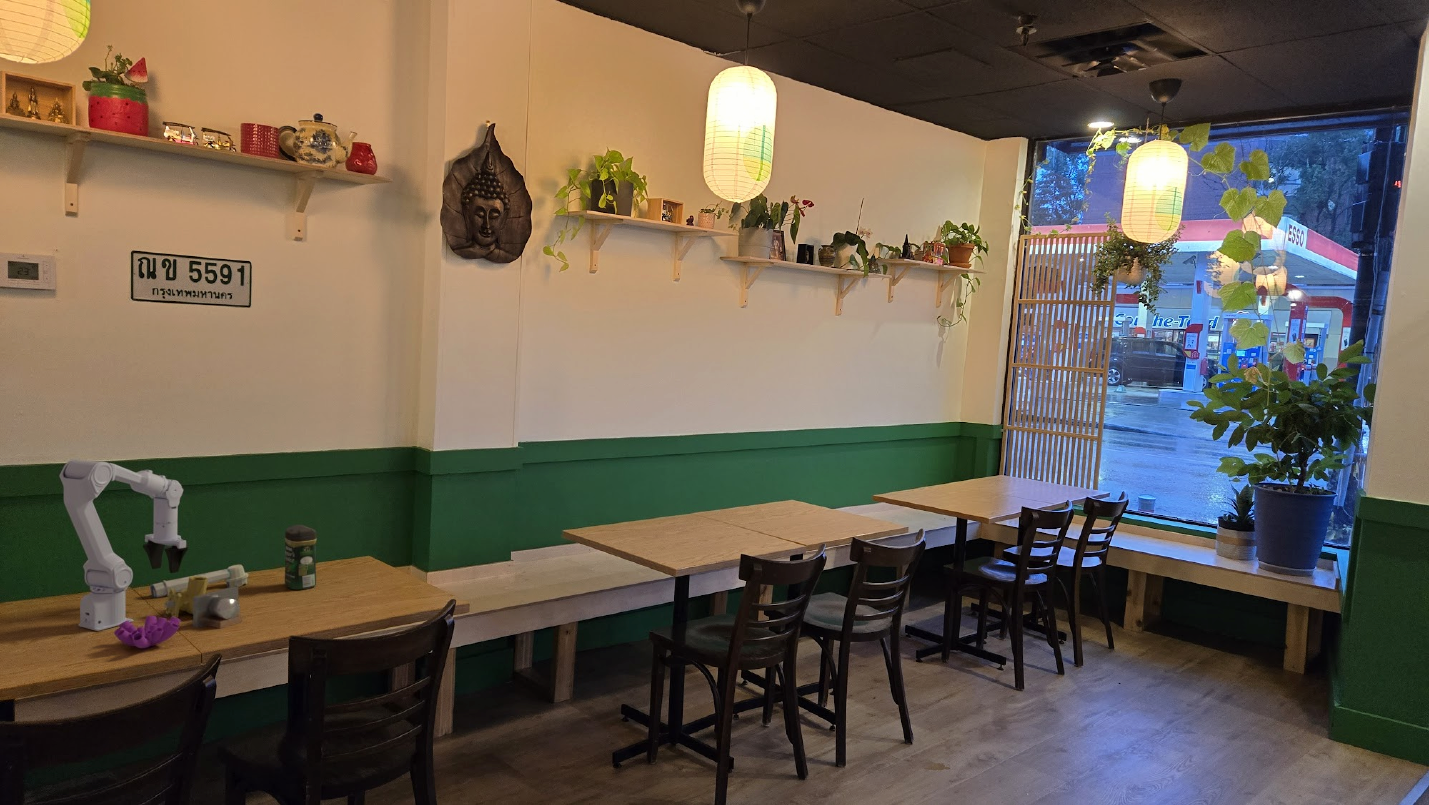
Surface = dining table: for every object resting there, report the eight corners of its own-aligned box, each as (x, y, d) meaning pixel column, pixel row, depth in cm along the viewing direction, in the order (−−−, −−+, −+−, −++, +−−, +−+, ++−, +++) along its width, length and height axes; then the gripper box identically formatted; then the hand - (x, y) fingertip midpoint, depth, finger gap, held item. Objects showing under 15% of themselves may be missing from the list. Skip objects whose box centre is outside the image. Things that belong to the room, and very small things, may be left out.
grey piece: (148, 582, 265) (242, 558, 283) (152, 605, 267) (245, 579, 284) (153, 586, 262) (248, 562, 279) (157, 609, 263) (251, 583, 280)
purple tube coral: (112, 665, 221) (100, 629, 224) (177, 648, 234) (165, 614, 236) (131, 645, 216) (118, 608, 218) (196, 629, 228) (183, 595, 231)
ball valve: (195, 608, 258) (155, 611, 250) (201, 572, 258) (162, 573, 250) (213, 622, 250) (172, 625, 242) (220, 584, 250) (179, 586, 242)
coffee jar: (280, 585, 282) (281, 525, 280) (307, 581, 287) (307, 522, 286) (292, 592, 275) (293, 530, 273) (319, 587, 280) (320, 527, 279)
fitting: (210, 631, 238) (210, 601, 237) (193, 627, 240) (193, 597, 240) (251, 619, 249) (251, 590, 248) (233, 615, 251) (234, 586, 251)
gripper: (196, 523, 257) (196, 571, 258) (162, 516, 263) (161, 563, 264) (172, 527, 250) (172, 576, 251) (137, 520, 256) (137, 568, 257)
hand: (165, 570), depth 257 cm, fingers open, 7 cm apart
